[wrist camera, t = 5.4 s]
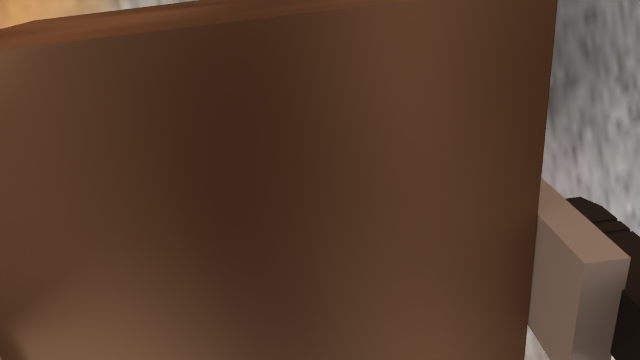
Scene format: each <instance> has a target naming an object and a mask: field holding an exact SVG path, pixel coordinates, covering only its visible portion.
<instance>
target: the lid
mask: <svg viewBox="0 0 640 360" xmlns="http://www.w3.org/2000/svg"><path fill="white" fill-rule="evenodd" d="M557 1H558V0H199V1H191V2H183V3H174V4H166V5H158V6H150V7H142V8H133V9H125V10H117V11H109V12H100V13H92V14H84V15H76V16H68V17H59V18H51V19H43V20H35V21H31V22H27V23H23V24H19V25H15V26H11V27H7V28H3V29H0V357H1V359H2V360H524V356H525V345H526V335H527V324H528V313H529V302H530V292H531V281H532V270H533V259H534V249H535V238H536V227H537V216H538V206H539V195H540V184H541V173H542V163H543V152H544V141H545V130H546V120H547V109H548V98H549V87H550V77H551V66H552V55H553V44H554V34H555V23H556V12H557Z"/></svg>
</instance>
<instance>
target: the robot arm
mask: <svg viewBox="0 0 640 360" xmlns="http://www.w3.org/2000/svg"><path fill="white" fill-rule="evenodd" d="M528 326H529V327H530V329H531V330H532V332H533V333H534V335H535V336H536V338H537V340H538V341H539V343H540V344H541V346H542V347H543V349H544V351H545V352H546V354H547V355H548V357H549V358H550V360H611V357H612V356H613V357H614V359H615V360H640V237H639V236H638V235H637V234H636V233H634V232H633V231H632V232H630V229H629V228H628V227H627V226H626V225H624V224H623V223H622V222H621V221H617V218H616V217H615V216H613V215H612V214H611V213H610V212H608V211H607V210H606V209H605V208H603V207H602V206H600V205H598V204H595V203H593V202H591V201H589V200H586V199H584V198H582V197H576V198H567V199H565V198H563V197H562V196H561V195H560V194H559V193H558V192H557V191H556V190H554V189H553V188H552V187H551V186H550V185H549V184H548V183H547V182H546V181H544V180H543V179H542V178H541V184H540V195H539V206H538V216H537V227H536V238H535V249H534V259H533V270H532V281H531V292H530V302H529V313H528ZM0 360H2V359H1V357H0Z"/></svg>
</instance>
